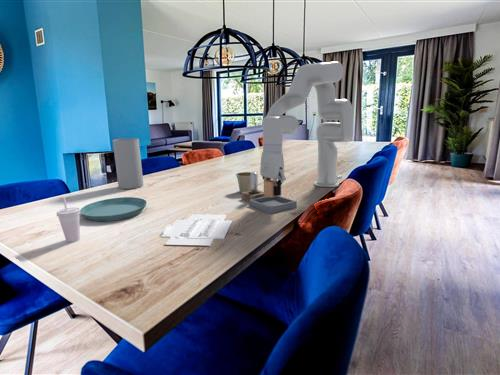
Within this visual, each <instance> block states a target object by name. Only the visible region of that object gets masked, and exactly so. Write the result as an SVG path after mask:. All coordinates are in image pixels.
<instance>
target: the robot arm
mask: <svg viewBox="0 0 500 375" xmlns="http://www.w3.org/2000/svg"><path fill="white" fill-rule="evenodd" d="M343 75H344V67H343V65H342V63H341V62H340V61H336V60H335V61H330V62H329V61H328V62H316V63H308V64H303V65H301V66H299V67H298V69H297V71H296V72H295V75H294V77H293V79H292V82H291V83H290V86H289V88H288V90H287V92H285V93H284V94H283V95H281V97H279V98H278V100H276V101H275V102H273V103H272V105H271V106H270V108H269V109H268V112H267V114H266V116H264V117H263V119H262V151H261V157H260V168H259V170H260V172H259V173H260V175H261V177H262V179H263V181H264V180H270V179H274V184H275V186H274V196H277V195H280V194H281V195H282V185H283V183H284V182H285V181H286V179H287V178H286V176H285V161H284V153H283V135H290V136H291V135H294V134H295V133H297V131H298V130H299V127H300V122H299V120H298V119H297V117H295V116H294V115H288V114H287V115H283V114H285V113H287V112H288V111H290V110H292V109H295V108H297V107H300V106H302V105H303V104H304V103H306V101H307V100H308V97H309V95H310V92H311V91H312V87H314V89H315V92H316V95H317V96H316V98H317V109H318V110H317V111H318V118H320V119H321V120H325V121H326V122H322V123H320V124H318V126H317V128H316V138H317V175H316V177H317V179H316V181H314V182H313V185H314V186H316V187H320V188H335V187H339V186H340V182H339V180H341V179H343V175H338V174H337V172H338V171H337V169H338V147H337V145H336V144H335V143H349V142H350V141H351V140H352V138H353V137H354V136H353V135H354V119H353V118H354V116H353V115H354V114H353V106H352V105H353V104H352V102H351V101H350V100H348V99H346V98H340V99H339V98H337V97H336V96H337V95H336V88H335V85H334V83H338V82H340V81H341V80H342V78H343ZM333 121H334V122H333ZM336 121H339V122H336ZM277 180H278V181H277Z"/></svg>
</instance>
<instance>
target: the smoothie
mask: <svg viewBox="0 0 500 375" xmlns="http://www.w3.org/2000/svg"><path fill="white" fill-rule="evenodd" d="M62 199H63V205H64V208H62V209H59V210H57V211H56V216H57V218H58V220H59V221H58V222H59V223H60V226H61V228H62V233H63V235H64V238H65V241H66V242H65V243H76V242H77V241H80V239H81V234H80V230H81V229H80V214H81V213H80V210H81V208H79V207H68V205H67V200H66V196H63V197H62Z"/></svg>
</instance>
